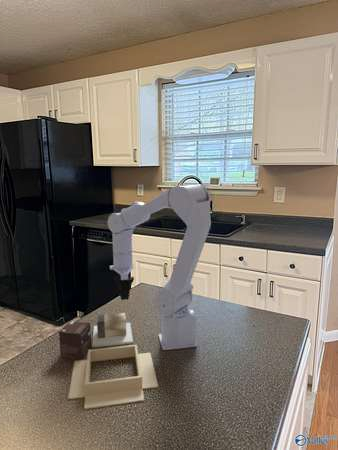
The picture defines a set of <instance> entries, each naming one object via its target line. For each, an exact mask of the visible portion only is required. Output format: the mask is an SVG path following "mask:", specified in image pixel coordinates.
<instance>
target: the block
mask: <svg viewBox="0 0 338 450" xmlns="http://www.w3.org/2000/svg"><path fill="white" fill-rule="evenodd" d="M96 320H97V321H96V326H97V329H98V338H105V337H115V336H125V335H126V323H127V317H126V312H121V313H111V314H110V313H109V314H100V315H99V314H97V318H96Z"/></svg>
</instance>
